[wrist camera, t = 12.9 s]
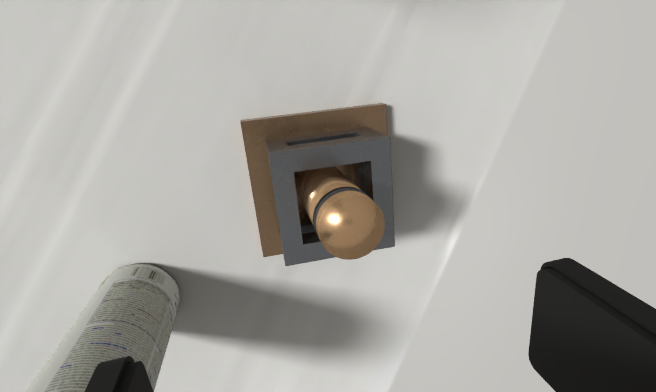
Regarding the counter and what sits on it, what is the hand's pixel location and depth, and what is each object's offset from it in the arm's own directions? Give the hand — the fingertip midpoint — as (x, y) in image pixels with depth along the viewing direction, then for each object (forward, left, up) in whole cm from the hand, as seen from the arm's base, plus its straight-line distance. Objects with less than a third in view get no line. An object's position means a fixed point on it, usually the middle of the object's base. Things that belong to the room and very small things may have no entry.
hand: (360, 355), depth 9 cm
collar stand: (+3, +3, -25) cm, 26 cm away
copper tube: (+3, +3, -24) cm, 24 cm away
